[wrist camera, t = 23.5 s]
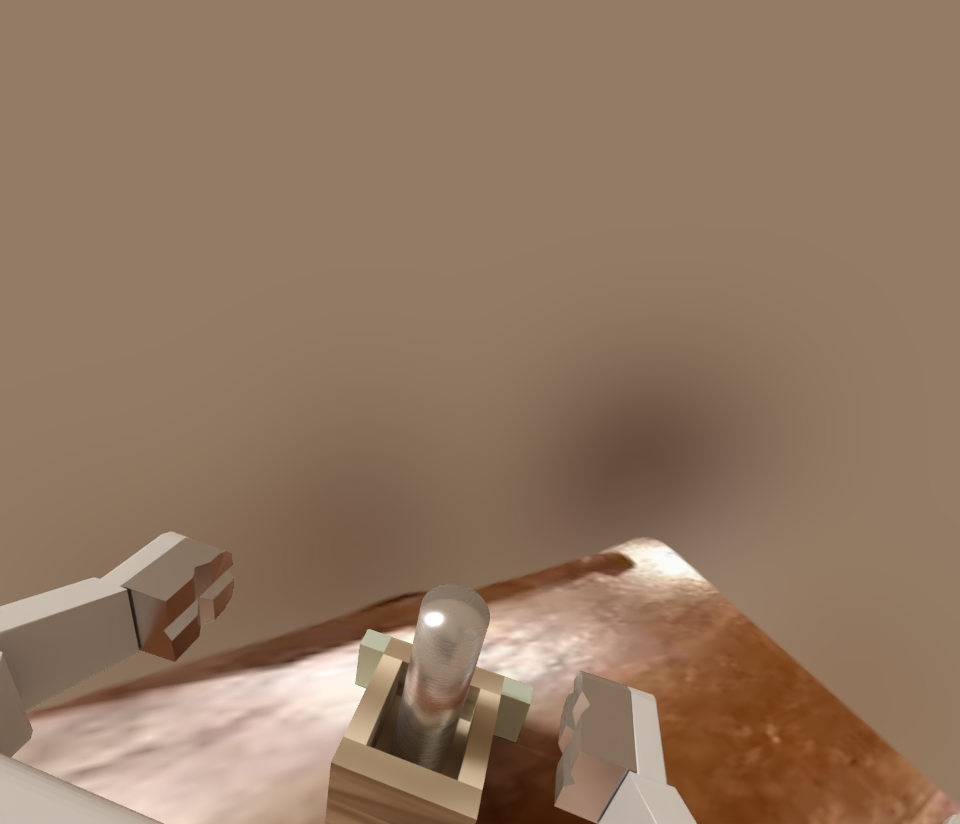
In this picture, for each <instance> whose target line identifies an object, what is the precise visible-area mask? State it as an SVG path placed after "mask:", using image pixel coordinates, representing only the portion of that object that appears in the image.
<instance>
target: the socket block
mask: <svg viewBox="0 0 960 824" xmlns="http://www.w3.org/2000/svg"><path fill="white" fill-rule="evenodd" d="M412 646H413V645H412V644H409V643H406V642H404V641H401V640H398V639H395V638H392V637H391V639H390V641H389V643H388V645H387V647H386V649H385V652H384V654H383V656H382V658H381V660H380V662H379V664H378V666H377V668H376V670H375V672H374V674H373V676H372V678H371V681H370V683H369V685H368V687H367V689H366V691H365V693H364V695H363V697H362V699H361V701H360V703H359V705H358V708H357V710H356V712H355V714H354V716H353V718H352V720H351V722H350V724H349V726H348V728H347V730H346V732H345V734H344V737H343V739H342V741H341V743H340V745H339V747H338V749H337V751H336V753H335V755H334V757H333V759H332V761H331V768H330V778H329V789H328V800H327V811H326V821H325V823H327V824H475V823H476V821H477V816H478V811H479V806H480V801H481V795H482V790H483V785H484V780H485V775H486V770H487V764H488V759H489V754H490V749H491V744H492V739H493V733H494V728H495V723H496V718H497V713H498V708H499V703H500V697H501V692H502V687H503V682H504V676H501V675H498V674H495V673H492V672H489V671H487V670H484V669H481V668H478V667H475V671H474V674H473V677H472V680H471V684H470V687H469V690H468V693H467V697H466V700H465V703H464V706H463V710H462V713H461V716H460V719H459V723H458V726H457V729H456V732H455V736H454V739H453V742H452V745H451V749H450V752H449V755H448V758H447V762H446V764H445V766H444V768H443V770H442V771H441V773H440V774H439V773H437V772H434V771H432V770H429V769H426V768H424V767H421V766H419V765H416V764H413V763H411V762H408V761H406V760H403V759H400V758H398V757H395V756H393V755H391V748H392V742H393V737H394V733H395V728H396V723H397V718H398V713H399V709H400V704H401V699H402V694H403V689H404V685H405V680H406V675H407V670H408V665H409V661H410V656H411V651H412Z"/></svg>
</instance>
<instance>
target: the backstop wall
mask: <svg viewBox="0 0 960 824" xmlns="http://www.w3.org/2000/svg"><path fill="white" fill-rule="evenodd" d="M392 638H393V637H392ZM390 639H391V637H390V636H387V635H385V634H382V633H379V632H376V631H373V630H370V629H368V630H367V632H366V634H365V636H364V638H363V640H362V641H361V643H360V649H359V657H358V666H357V674H356V683H355V684H357V685H360V686H362V687H365V688H367V687H368V685H369V683H370V681H371V678H372V676H373V674H374V672H375V670H376V668H377V666H378V664H379V662H380V660H381V658H382V656H383V654H384V652H385V649H386V647H387V645H388V643H389V641H390ZM395 639H396V638H395ZM398 640H399V639H398ZM401 641H402V640H401ZM404 642H405V641H404ZM406 643H407V642H406ZM409 644H410V643H409ZM412 645H413V644H412ZM478 668H479V667H478ZM481 669H482V668H481ZM484 670H485V669H484ZM487 671H488V670H487ZM489 672H491V671H489ZM492 673H493V672H492ZM495 674H496V673H495ZM498 675H499V674H498ZM501 676H502V675H501ZM532 689H533V686H531V685H528V684H525V683H522V682H519V681H516V680H513V679H511V678H508V677H505V676H504V682H503V687H502V692H501V697H500V703H499V708H498V713H497V718H496V723H495V728H494V733H493V735H496V736H499V737H501V738H504V739H507V740H510V741H512V742H515V743H516V741H517V738H518V736H519V733H520V731H521V728H522V725H523V723H524V720H525V717H526V715H527V712H528V710H529V707H530V704H531V697H532Z"/></svg>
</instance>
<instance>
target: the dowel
mask: <svg viewBox="0 0 960 824" xmlns="http://www.w3.org/2000/svg"><path fill="white" fill-rule="evenodd" d="M489 621H490V613H489V609H488V606H487V604H486V602H485V601H484V599H483V598H482V597H481V596H480V595H479V594H478V593H477V592H475V591H474V590H472V589H470V588H468V587H466V586H463V585H459V584H444V585H440V586H437V587H435V588H433V589H432V590H430V591H429V592H428V593H427V594H426V595H425V597H424V598H423V601H422V604H421V608H420V613H419V617H418V622H417V627H416V632H415V637H414V641H413V646H412V651H411V656H410V661H409V665H408V670H407V675H406V680H405V685H404V689H403V694H402V699H401V704H400V709H399V713H398V718H397V723H396V728H395V733H394V737H393V742H392V748H391V755H393V756H395V757H398V758H400V759H403V760H406V761H408V762H411V763H413V764H416V765H419V766H421V767H424V768H426V769H429V770H432V771H434V772H437V773H439V774H440V773H441V771H442V770H443V768H444V766H445V764H446V762H447V758H448V755H449V752H450V749H451V745H452V742H453V739H454V736H455V732H456V729H457V726H458V723H459V719H460V716H461V713H462V710H463V706H464V703H465V700H466V697H467V693H468V690H469V687H470V684H471V680H472V677H473V674H474V671H475V667H476V664H477V661H478V658H479V654H480V651H481V648H482V645H483V641H484V638H485V635H486V632H487V628H488V625H489Z"/></svg>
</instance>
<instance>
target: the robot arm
mask: <svg viewBox="0 0 960 824" xmlns="http://www.w3.org/2000/svg"><path fill="white" fill-rule="evenodd" d="M232 565H233V562H232V554H231V553H229V552H226V551H224V550H221V549H218V548H215V547H213V546H210V545H207V544H205V543H202V542H199V541H197V540H194V539H191V538H188V537H186V536H183V535H180V534H177V533H174V532H168V533H164V534H162V535H160V536H159V537H158V538H156V539H155V540H154V541H152V542H151V543H150V544H148V545H146V546H145V547H144V548H142V549H141V550H140V551H138V552H137V553H135V554H134V555H133V556H131V557H130V558H129V559H127V560H126V561H125V562H123V563H122V564H120V565H119V566H118V567H116V568H115V569H113V570H112V571H111V572H109V573H108V574H107V575H105V576H104V577H102V578H101V579H98V578H95V577H94V578H90V579H87V580H84V581H81V582H78V583H75V584H71V585H68V586H65V587H61V588H58V589H55V590H52V591H48V592H45V593H42V594H39V595H36V596H32V597H29V598H26V599H23V600H20V601H16V602H13V603H10V604H7V605H3V606H1V607H0V824H163V823H161V822H159V821H156V820H154V819H152V818H150V817H147V816H145V815H143V814H140V813H138V812H136V811H133V810H131V809H129V808H126V807H124V806H122V805H119V804H117V803H115V802H113V801H110V800H108V799H106V798H103V797H101V796H99V795H96V794H94V793H92V792H89V791H87V790H85V789H83V788H80V787H78V786H76V785H73V784H71V783H69V782H66V781H64V780H62V779H59V778H57V777H55V776H52V775H50V774H48V773H46V772H43V771H41V770H39V769H36V768H34V767H32V766H29V765H27V764H25V763H22V762H20V761H18V760H16V759H13V758H11V757H12V756H13V755H14V754H15V753H16V752H17V751H18V750H19V749H20V748H21V747H22V746H23V745H24V744H25V743H27V742H28V741H29V740H30V739H31V735H32V731H33V730H32V727H31V724H30V722H29V719H28V717H27V714H26V712H25V711H27V710H29V709H31V708H33V707H35V706H36V705H39V704H40V703H42V702H44V701H46V700H48V699H50V698H52V697H54V696H56V695H58V694H60V693H62V692H64V691H66V690H67V689H69V688H71V687H73V686H75V685H77V684H79V683H81V682H82V681H85V680H87V679H89V678H91V677H93V676H94V675H96V674H98V673H100V672H102V671H104V670H106V669H108V668H110V667H112V666H114V665H116V664H117V663H120V662H121V661H123V660H125V659H127V658H129V657H131V656H133V655H135V654H137V653H139V650H142V651H145V652H148V653H151V654H153V655H156V656H159V657H162V658H165V659H168V660H171V661H174V662H175V661H176V660H177V659H178V658H179V657H180V656H181V655H182V654H183V653H184V652H185V651H186V650H187V649H188V648H189V647H190V646H191V644H192V643H193V642H194V641H195V640H196V639H197V638H198V637H199V635H200V628H201V625H204V624H206V623H208V622H211V621H213V620H215V619H216V618H217V617H218V616H219V615H220V613H221V612H222V611H223V610H224V609H225V607H226V605H227V604H228V602H229V600H230V598H231V597H232V593H233V589H234V579H233V577H232V576H231V574H230V573H229V571H228V569H229V568H230V567H231V566H232ZM558 745H559V747H560V749H561V751H562V753H563V754H562V757H561V759H560V761H559V763H558V766H557V768H556V784H555V800H554V806H555V807H558V808H560V809H563V810H565V811H567V812H570V813H572V814H575V815H577V816H580V817H582V818H584V819H587V820H589V821H592V822H594V823H596V824H697V823H696V821H695V819H694V818H693V816H692V815H691V813H690V811H689V810H688V808H687V806H686V805H685V803H684V801H683V800H682V798H681V796H680V795H679V793H678V791H677V790H676V788H675V787H672V786H670V785H667V778H666V770H665V763H664V755H663V748H662V740H661V733H660V725H659V718H658V711H657V703H656V700H655V698H654V696H653V695H651V694H649V693H646V692H643V691H640V690H637V689H634V688H631V687H627V686H626V685H624V684H620V683H617V682H614V681H611V680H608V679H605V678H602V677H599V676H596V675H593V674H589V673H586V672H583V671H579V672H578V673H577V676H576V678H575V680H574V691H573V693H572V694H569V695H568V697H567V699H566V702H565V704H564V708H563V712H562V716H561V721H560V728H559V739H558ZM943 824H960V815H958V814H954V815H952V816H950V817H948V818H946V819H945V820H944V822H943Z"/></svg>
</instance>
